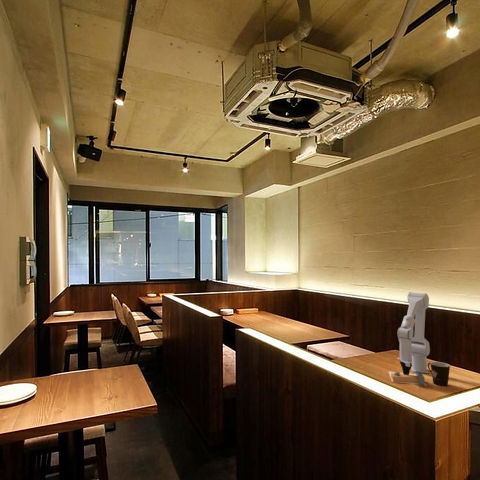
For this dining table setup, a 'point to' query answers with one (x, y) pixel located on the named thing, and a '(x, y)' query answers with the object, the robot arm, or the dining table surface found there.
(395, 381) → the pintle base
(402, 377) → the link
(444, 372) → the coffee mug
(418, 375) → the keeper
